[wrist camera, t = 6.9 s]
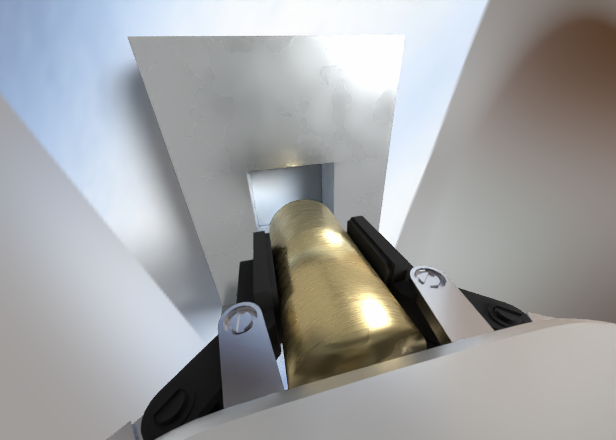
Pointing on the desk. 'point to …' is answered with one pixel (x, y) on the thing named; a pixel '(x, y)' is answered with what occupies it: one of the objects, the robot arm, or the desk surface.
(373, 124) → the jig
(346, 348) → the gold domed cylinder
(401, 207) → the desk surface
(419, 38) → the desk surface
